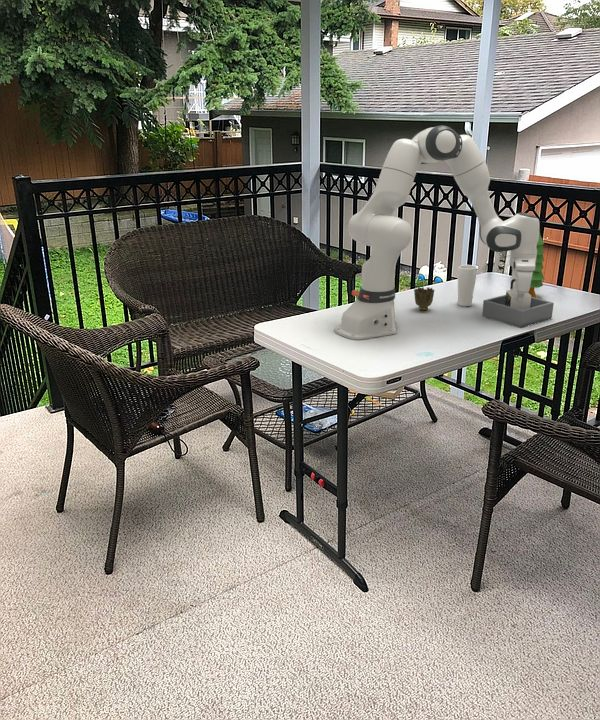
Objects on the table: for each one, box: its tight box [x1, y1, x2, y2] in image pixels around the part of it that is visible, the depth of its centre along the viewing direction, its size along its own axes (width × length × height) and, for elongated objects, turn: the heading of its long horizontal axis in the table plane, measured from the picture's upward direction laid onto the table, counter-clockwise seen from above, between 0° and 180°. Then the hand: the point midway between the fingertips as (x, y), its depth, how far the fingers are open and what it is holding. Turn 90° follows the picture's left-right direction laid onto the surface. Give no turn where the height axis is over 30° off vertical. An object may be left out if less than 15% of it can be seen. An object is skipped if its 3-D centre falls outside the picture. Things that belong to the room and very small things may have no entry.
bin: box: [481, 294, 555, 329], centre depth 228 cm, size 17×17×6 cm
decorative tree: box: [528, 230, 546, 298], centre depth 247 cm, size 10×9×30 cm
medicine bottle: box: [505, 279, 531, 310], centre depth 226 cm, size 7×7×12 cm
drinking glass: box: [457, 264, 478, 307], centre depth 242 cm, size 7×7×15 cm
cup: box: [413, 286, 435, 312], centre depth 238 cm, size 8×7×8 cm
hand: (518, 298), depth 226 cm, fingers closed on medicine bottle, 7 cm apart
